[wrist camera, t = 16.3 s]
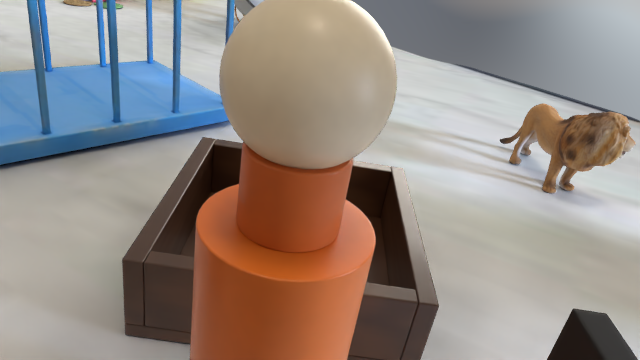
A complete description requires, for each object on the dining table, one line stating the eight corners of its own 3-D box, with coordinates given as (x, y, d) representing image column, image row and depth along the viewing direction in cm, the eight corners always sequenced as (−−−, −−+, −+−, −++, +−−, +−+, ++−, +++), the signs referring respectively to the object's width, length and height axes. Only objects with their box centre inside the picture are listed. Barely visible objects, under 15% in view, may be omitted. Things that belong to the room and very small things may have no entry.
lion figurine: (613, 210, 47) (657, 122, 43) (571, 212, 45) (612, 121, 41) (515, 145, 59) (542, 72, 55) (478, 145, 57) (503, 69, 53)
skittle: (318, 423, 22) (416, -5, 14) (312, 553, 18) (455, 29, 9) (203, 407, 22) (232, -36, 14) (166, 535, 17) (176, -17, 9)
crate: (389, 221, 39) (403, 167, 36) (415, 376, 25) (439, 305, 23) (200, 193, 38) (202, 136, 36) (124, 335, 25) (121, 259, 23)
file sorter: (154, 74, 62) (154, -60, 55) (238, 124, 52) (251, -33, 45) (-101, 98, 45) (-148, -92, 38) (-49, 179, 35) (-101, -60, 28)
